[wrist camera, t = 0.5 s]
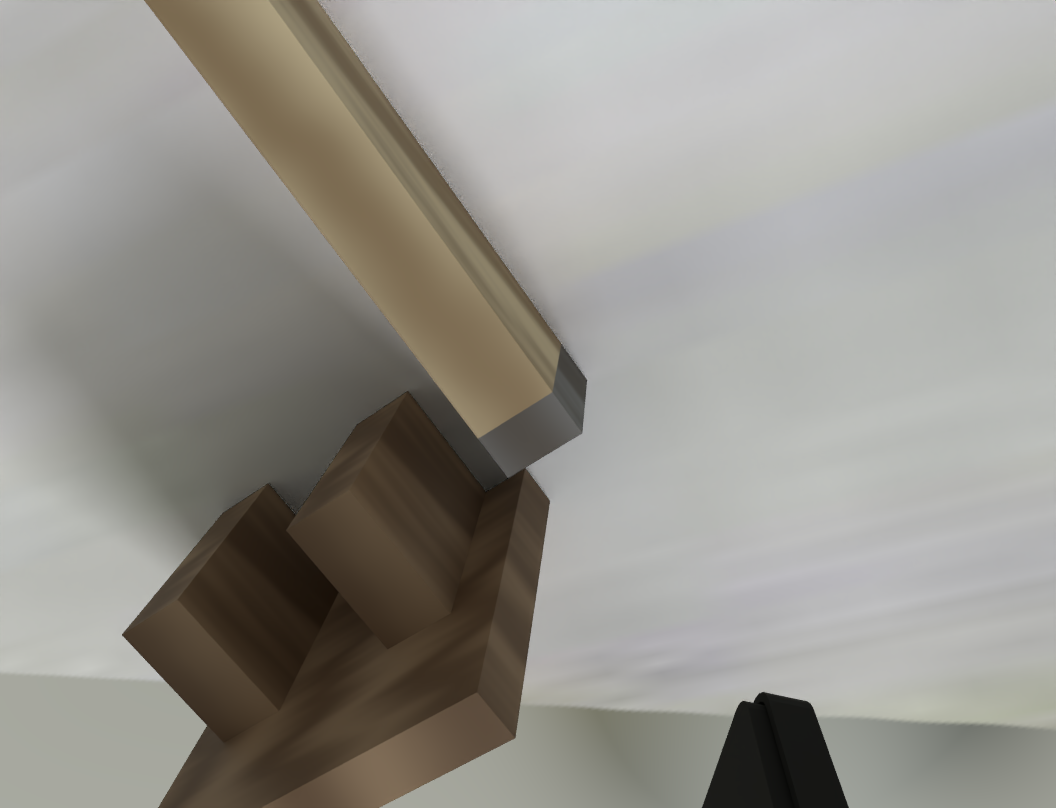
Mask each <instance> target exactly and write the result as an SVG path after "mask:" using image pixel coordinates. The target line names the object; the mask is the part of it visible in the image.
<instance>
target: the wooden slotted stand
mask: <svg viewBox="0 0 1056 808" xmlns="http://www.w3.org/2000/svg"><path fill="white" fill-rule="evenodd" d="M549 504H550V501H549V499H548V498H547V497H546V495H545V494H544V493H543V491H542V490H541V489H540V487H539V486H538V485H537V483H536V482H535V481H534V479H533V478H532V477H531V475H530V474H529V473H528V471H527V470H526V469H523V470H522V471H520V472H518V473H517V474H515V475H513V476H512V477H510V478H508V479H507V480H505V481H504V482H502V483H500V484H499V485H497V486H495V487H494V488H492V489H490V490H489V491H487V492H485V490H484V489H483V488H482V486H481V485H480V484H479V483H478V481H477V480H476V479H475V477H474V476H473V475H472V474H471V472H470V471H469V470H468V468H467V467H466V466H465V464H464V463H463V462H462V461H461V459H460V458H459V457H458V455H457V454H456V453H455V452H454V450H453V449H452V448H451V446H450V445H449V444H448V442H447V441H446V440H445V439H444V437H443V436H442V435H441V433H440V432H439V431H438V429H437V428H436V427H435V426H434V424H433V423H432V422H431V420H430V419H429V418H428V417H427V415H426V414H425V413H424V411H423V410H422V409H421V407H420V406H419V405H418V404H417V402H416V401H415V400H414V398H413V397H412V396H411V394H410V393H409V392H408V391H407V392H406V393H404V394H403V395H401V396H400V397H398V398H397V399H395V400H394V401H392V402H391V403H389V404H388V405H386V406H385V407H383V408H382V409H380V410H379V411H377V412H376V413H374V414H373V415H371V416H369V417H368V418H366V419H365V420H363V421H362V422H360V423H359V424H357V425H356V427H355V428H354V430H353V431H352V433H351V434H350V436H349V437H348V439H347V440H346V442H345V443H344V445H343V446H342V448H341V449H340V451H339V452H338V454H337V455H336V457H335V458H334V460H333V461H332V463H331V464H330V466H329V467H328V469H327V470H326V472H325V473H324V474H323V476H322V477H321V479H320V480H319V482H318V483H317V485H316V486H315V488H314V489H313V491H312V492H311V494H310V495H309V497H308V498H307V500H306V501H305V503H304V504H303V506H302V507H301V509H300V510H299V512H298V513H297V515H296V516H295V514H294V513H293V512H292V511H291V510H290V508H289V507H288V506H287V505H286V504H285V502H284V501H283V500H282V499H281V498H280V497H279V495H278V494H277V493H276V492H275V491H274V489H273V488H272V487H271V486H270V485H269V484H266V485H265V486H263V487H262V488H260V489H259V490H257V491H256V492H254V493H253V494H251V495H250V496H248V497H247V498H245V499H244V500H242V501H241V502H239V503H238V504H236V505H235V506H233V507H232V508H230V509H229V510H227V511H226V512H224V513H223V514H222V515H221V516H220V517H219V518H218V520H217V521H216V522H215V523H214V524H213V526H212V527H211V528H210V529H209V530H208V532H207V533H206V534H205V535H204V536H203V538H202V539H201V540H200V541H199V542H198V544H197V545H196V546H195V547H194V548H193V550H192V551H191V552H190V553H189V554H188V556H187V557H186V558H185V559H184V561H183V562H182V563H181V564H180V565H179V567H178V568H177V569H176V570H175V571H174V573H173V574H172V575H171V576H170V577H169V579H168V580H167V581H166V582H165V583H164V585H163V586H162V587H161V588H160V589H159V591H158V592H157V593H156V594H155V595H154V597H153V598H152V599H151V600H150V602H149V603H148V604H147V605H146V606H145V608H144V609H143V610H142V611H141V612H140V614H139V615H138V616H137V617H136V618H135V620H134V621H133V622H132V623H131V624H130V626H129V627H128V628H127V629H126V630H125V632H124V633H123V634H122V636H123V637H124V638H125V639H126V640H127V641H128V642H129V643H130V644H131V645H132V646H133V647H134V648H135V649H136V650H137V651H138V652H139V654H140V655H141V656H142V657H143V658H144V659H145V660H146V661H147V662H148V663H149V664H150V665H151V666H152V667H153V668H154V669H155V670H156V672H157V673H158V674H159V675H160V676H161V677H162V678H163V679H164V680H165V681H166V682H167V683H168V684H169V685H170V686H171V687H172V688H173V689H174V691H175V692H176V693H178V695H179V696H180V697H181V698H182V699H183V700H184V701H185V702H186V703H187V704H188V705H189V707H190V708H191V709H192V710H193V711H194V712H195V713H196V714H197V715H198V716H199V717H200V718H201V719H202V720H203V721H204V722H205V723H206V724H207V727H206V729H205V730H204V732H203V734H202V735H201V737H200V739H199V740H198V742H197V744H196V745H195V747H194V749H193V750H192V752H191V754H190V755H189V757H188V759H187V760H186V762H185V764H184V765H183V767H182V769H181V770H180V772H179V774H178V775H177V777H176V779H175V780H174V782H173V784H172V786H171V787H170V789H169V791H168V792H167V794H166V796H165V797H164V799H163V801H162V802H161V804H160V806H159V807H158V808H379V807H381V806H383V805H385V804H387V803H389V802H391V801H393V800H395V799H397V798H399V797H401V796H403V795H405V794H407V793H409V792H411V791H413V790H415V789H416V788H419V787H420V786H422V785H424V784H426V783H428V782H430V781H432V780H434V779H436V778H438V777H440V776H442V775H444V774H446V773H448V772H450V771H452V770H454V769H456V768H458V767H460V766H462V765H463V764H466V763H467V762H469V761H471V760H473V759H475V758H477V757H479V756H481V755H483V754H485V753H487V752H489V751H491V750H493V749H495V748H497V747H499V746H501V745H503V744H505V743H507V742H508V741H511V740H512V739H514V738H515V736H516V730H517V723H518V716H519V709H520V702H521V695H522V689H523V682H524V675H525V668H526V661H527V655H528V648H529V641H530V634H531V627H532V620H533V614H534V607H535V600H536V593H537V586H538V579H539V573H540V566H541V559H542V552H543V545H544V538H545V532H546V525H547V518H548V511H549Z"/></svg>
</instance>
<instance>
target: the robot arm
mask: <svg viewBox="0 0 1056 808" xmlns="http://www.w3.org/2000/svg"><path fill="white" fill-rule="evenodd" d="M702 808H849V807H848V805H847V801H846V799H845V796H844V793H843V791H842V787H841V785H840V782H839V779H838V776H837V773H836V771H835V768H834V765H833V762H832V759H831V757H830V754H829V751H828V748H827V745H826V742H825V740H824V737H823V734H822V731H821V728H820V726H819V723H818V720H817V717H816V714H815V712H814V709H813V707H812V705H811V704H810V703H809V702H807V701H803V700H798V699H793V698H789V697H784V696H779V695H774V694H770V693H765V692H762V693H759V694H758V696H757V697H756V698H755V700H754V703H751V702H746V701H742V702H741V703H740V704H739V705H738V708H737V710H736V712H735V715H734V718H733V721H732V724H731V727H730V730H729V732H728V735H727V738H726V741H725V744H724V747H723V749H722V752H721V755H720V758H719V761H718V764H717V767H716V770H715V772H714V775H713V778H712V781H711V784H710V787H709V789H708V793H707V795H706V798H705V801H704V804H703V807H702Z"/></svg>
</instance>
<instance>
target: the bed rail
mask: <svg viewBox="0 0 1056 808" xmlns="http://www.w3.org/2000/svg"><path fill="white" fill-rule="evenodd" d="M144 1H145V2H146V3H147V4H148V6H149V7H150V8H151V10H152V11H153V12H154V14H155V15H156V16H157V18H158V19H159V20H160V22H161V23H162V24H163V26H164V27H165V28H166V29H167V31H168V32H169V33H170V35H171V36H172V37H173V39H174V40H175V41H176V43H177V44H178V45H179V47H180V48H181V49H182V50H183V52H184V53H185V54H186V56H187V57H188V58H189V60H190V61H191V62H192V64H193V65H194V66H195V68H196V69H197V70H198V71H199V73H200V74H201V75H202V77H203V78H204V79H205V81H206V82H207V83H208V85H209V86H210V87H211V89H212V90H213V91H214V92H215V94H216V95H217V96H218V98H219V99H220V100H221V102H222V103H223V104H224V106H225V107H226V108H227V110H228V111H229V112H230V114H231V115H232V116H233V117H234V119H235V120H236V121H237V123H238V124H239V125H240V127H241V128H242V129H243V131H244V132H245V133H246V135H247V136H248V137H249V138H250V140H251V141H252V142H253V144H254V145H255V146H256V148H257V149H258V150H259V152H260V153H261V154H262V156H263V157H264V158H265V159H266V161H267V162H268V163H269V165H270V166H271V167H272V169H273V170H274V171H275V173H276V174H277V175H278V177H279V178H280V179H281V180H282V182H283V183H284V184H285V186H286V187H287V188H288V190H289V191H290V192H291V194H292V195H293V196H294V198H295V199H296V200H297V202H298V203H299V204H300V205H301V207H302V208H303V209H304V211H305V212H306V213H307V215H308V216H309V217H310V219H311V220H312V221H313V223H314V224H315V225H316V226H317V228H318V229H319V230H320V232H321V233H322V234H323V236H324V237H325V238H326V240H327V241H328V242H329V244H330V245H331V246H332V247H333V249H334V250H335V251H336V253H337V254H338V255H339V257H340V258H341V259H342V261H343V262H344V263H345V265H346V266H347V267H348V268H349V270H350V271H351V272H352V274H353V275H354V276H355V278H356V279H357V280H358V282H359V283H360V284H361V286H362V287H363V288H364V290H365V291H366V292H367V293H368V295H369V296H370V297H371V299H372V300H373V301H374V303H375V304H376V305H377V307H378V308H379V309H380V311H381V312H382V313H383V314H384V316H385V317H386V318H387V320H388V321H389V322H390V324H391V325H392V326H393V328H394V329H395V330H396V332H397V333H398V334H399V335H400V337H401V338H402V339H403V341H404V342H405V343H406V345H407V346H408V347H409V349H410V350H411V351H412V353H413V354H414V355H415V357H416V358H417V359H418V360H419V362H420V363H421V364H422V366H423V367H424V368H425V370H426V371H427V372H428V374H429V375H430V376H431V378H432V379H433V380H434V381H435V383H436V384H437V385H438V387H439V388H440V389H441V391H442V392H443V393H444V395H445V396H446V397H447V399H448V400H449V401H450V402H451V404H452V405H453V406H454V408H455V409H456V410H457V412H458V413H459V414H460V416H461V417H462V418H463V420H464V421H465V422H466V423H467V425H468V426H469V427H470V429H471V430H472V431H473V433H474V434H475V435H476V437H477V438H478V439H479V441H480V442H481V443H482V445H483V446H484V447H485V448H486V450H487V451H488V452H489V454H490V455H491V456H492V458H493V459H494V460H495V462H496V463H497V464H498V466H499V467H500V468H501V469H502V471H503V472H504V473H505V475H506V476H507V477H508V478H509V477H511V476H512V475H514V474H516V473H517V472H519V471H521V470H522V469H524V468H526V467H527V466H529V465H531V464H532V463H534V462H535V461H537V460H539V459H540V458H542V457H544V456H545V455H547V454H549V453H550V452H552V451H554V450H555V449H557V448H559V447H560V446H562V445H564V444H565V443H567V442H568V441H570V440H572V439H573V438H575V437H577V436H578V435H580V434H582V430H583V419H584V408H585V396H586V385H587V380H586V378H585V377H584V375H583V374H582V373H581V371H580V370H579V368H578V367H577V366H576V364H575V363H574V361H573V360H572V359H571V357H570V356H569V354H568V353H567V352H566V350H565V349H564V347H563V346H562V344H561V343H560V342H559V340H558V339H557V337H556V336H555V335H554V333H553V332H552V330H551V329H550V328H549V326H548V325H547V323H546V322H545V321H544V319H543V318H542V316H541V315H540V314H539V312H538V311H537V309H536V308H535V306H534V305H533V304H532V302H531V301H530V299H529V298H528V297H527V295H526V294H525V292H524V291H523V290H522V288H521V287H520V285H519V284H518V283H517V281H516V280H515V278H514V277H513V276H512V274H511V273H510V271H509V270H508V268H507V267H506V266H505V264H504V263H503V261H502V260H501V259H500V257H499V256H498V254H497V253H496V252H495V250H494V249H493V247H492V246H491V245H490V243H489V242H488V240H487V239H486V237H485V236H484V235H483V233H482V232H481V230H480V229H479V228H478V226H477V225H476V223H475V222H474V221H473V219H472V218H471V216H470V215H469V214H468V212H467V211H466V209H465V208H464V207H463V205H462V204H461V202H460V201H459V199H458V198H457V197H456V195H455V194H454V192H453V191H452V190H451V188H450V187H449V185H448V184H447V183H446V181H445V180H444V178H443V177H442V176H441V174H440V173H439V171H438V170H437V169H436V167H435V166H434V164H433V163H432V161H431V160H430V159H429V157H428V156H427V154H426V153H425V152H424V150H423V149H422V147H421V146H420V145H419V143H418V142H417V140H416V139H415V138H414V136H413V135H412V133H411V132H410V131H409V129H408V128H407V126H406V125H405V123H404V122H403V121H402V119H401V118H400V116H399V115H398V114H397V112H396V111H395V109H394V108H393V107H392V105H391V104H390V102H389V101H388V100H387V98H386V97H385V95H384V94H383V93H382V91H381V90H380V88H379V87H378V85H377V84H376V83H375V81H374V80H373V78H372V77H371V76H370V74H369V73H368V71H367V70H366V69H365V67H364V66H363V64H362V63H361V62H360V60H359V59H358V57H357V56H356V54H355V53H354V52H353V50H352V49H351V47H350V46H349V45H348V43H347V42H346V40H345V39H344V38H343V36H342V35H341V33H340V32H339V31H338V29H337V28H336V26H335V25H334V24H333V22H332V21H331V19H330V18H329V16H328V15H327V14H326V12H325V11H324V9H323V8H322V7H321V5H320V4H319V2H318V1H317V0H144Z"/></svg>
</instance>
